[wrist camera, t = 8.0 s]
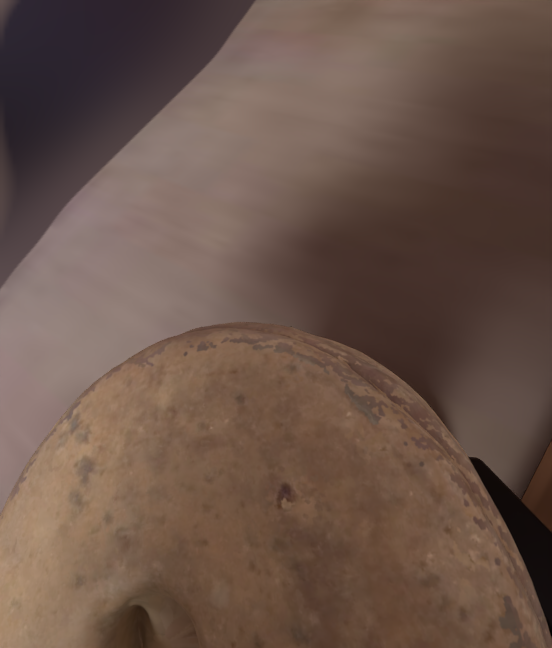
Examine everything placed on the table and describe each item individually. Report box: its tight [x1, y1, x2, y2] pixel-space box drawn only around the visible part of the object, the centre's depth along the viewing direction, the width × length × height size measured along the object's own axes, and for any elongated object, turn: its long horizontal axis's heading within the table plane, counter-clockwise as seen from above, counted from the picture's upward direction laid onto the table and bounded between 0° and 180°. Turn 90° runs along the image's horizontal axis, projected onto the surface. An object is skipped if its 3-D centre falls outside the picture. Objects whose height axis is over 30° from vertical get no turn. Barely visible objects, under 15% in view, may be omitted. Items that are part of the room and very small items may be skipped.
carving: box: [0, 322, 552, 648], centre depth 8 cm, size 6×8×12 cm
